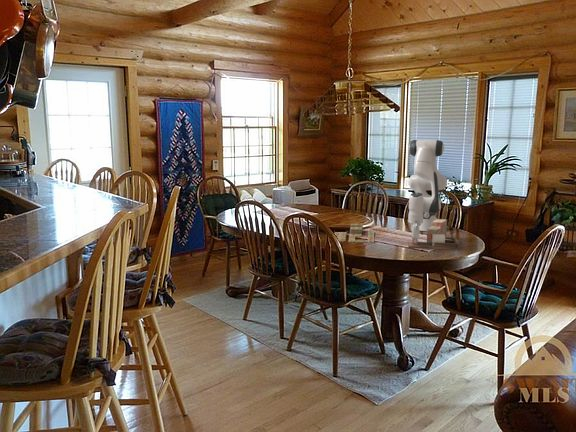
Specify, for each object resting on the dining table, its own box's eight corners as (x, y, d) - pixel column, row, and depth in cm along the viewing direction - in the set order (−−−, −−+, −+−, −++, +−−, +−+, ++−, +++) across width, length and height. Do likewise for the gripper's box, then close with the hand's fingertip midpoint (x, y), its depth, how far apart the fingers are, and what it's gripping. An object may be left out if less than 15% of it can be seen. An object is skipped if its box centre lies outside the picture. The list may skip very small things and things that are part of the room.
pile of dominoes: (335, 230, 352) (335, 223, 351) (374, 231, 348) (374, 224, 347) (331, 242, 319) (331, 234, 318) (374, 243, 314) (374, 235, 313)
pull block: (412, 242, 309) (412, 233, 307) (443, 243, 305) (444, 234, 304) (412, 245, 303) (412, 235, 302) (444, 246, 299) (445, 236, 298)
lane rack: (408, 243, 312) (408, 235, 311) (455, 245, 306) (456, 237, 305) (408, 248, 301) (408, 239, 300) (457, 250, 295) (458, 241, 294)
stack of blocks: (436, 244, 309) (437, 225, 307) (426, 243, 312) (427, 224, 310) (446, 237, 327) (447, 219, 324) (436, 236, 330) (437, 218, 328)
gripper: (422, 223, 292) (421, 246, 295) (420, 216, 312) (419, 238, 314) (411, 222, 293) (410, 245, 296) (409, 216, 313) (409, 237, 315)
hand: (414, 241), depth 305 cm, fingers closed on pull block, 2 cm apart
